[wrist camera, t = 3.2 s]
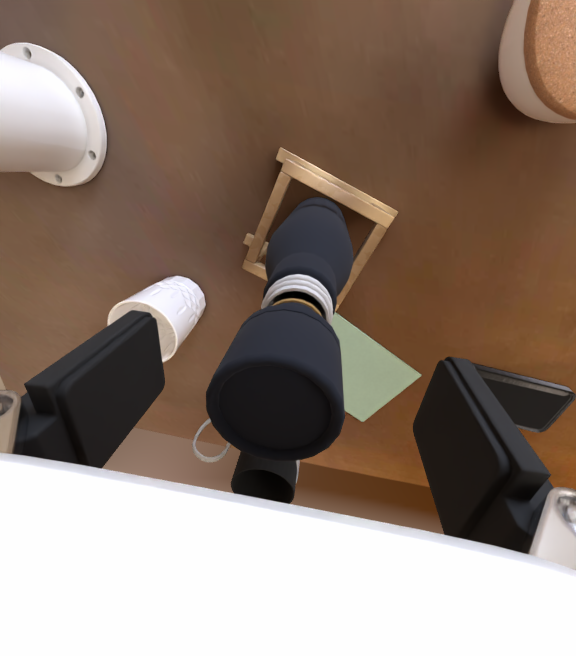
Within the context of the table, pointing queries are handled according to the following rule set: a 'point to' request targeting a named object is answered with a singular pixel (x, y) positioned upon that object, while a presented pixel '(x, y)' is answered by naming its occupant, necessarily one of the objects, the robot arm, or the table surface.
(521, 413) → the phone
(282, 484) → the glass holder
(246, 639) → the robot arm
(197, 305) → the white cup
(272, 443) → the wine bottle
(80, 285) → the table surface
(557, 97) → the lidded bowl
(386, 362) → the mat
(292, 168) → the bottle stand
